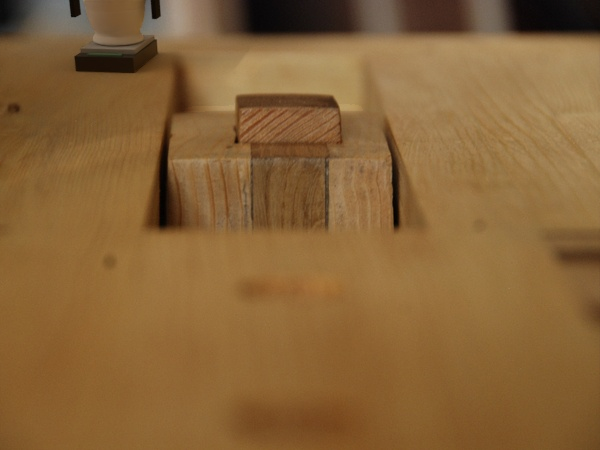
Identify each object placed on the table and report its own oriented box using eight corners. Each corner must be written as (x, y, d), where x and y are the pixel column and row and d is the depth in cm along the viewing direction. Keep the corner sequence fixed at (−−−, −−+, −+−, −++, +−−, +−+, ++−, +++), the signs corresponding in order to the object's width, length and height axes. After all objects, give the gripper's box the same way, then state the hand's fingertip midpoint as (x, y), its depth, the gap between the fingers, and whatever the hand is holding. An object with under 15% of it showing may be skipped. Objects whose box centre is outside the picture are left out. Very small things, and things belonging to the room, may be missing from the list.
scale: (75, 71, 130) (73, 51, 129) (104, 51, 143) (102, 33, 142) (134, 72, 129) (132, 52, 128) (157, 53, 142) (156, 34, 141)
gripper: (15, -124, 123) (33, 19, 132) (176, -123, 121) (184, 22, 129) (35, -125, 130) (51, 11, 139) (188, -124, 127) (195, 14, 136)
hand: (116, 17), depth 134 cm, fingers open, 13 cm apart
